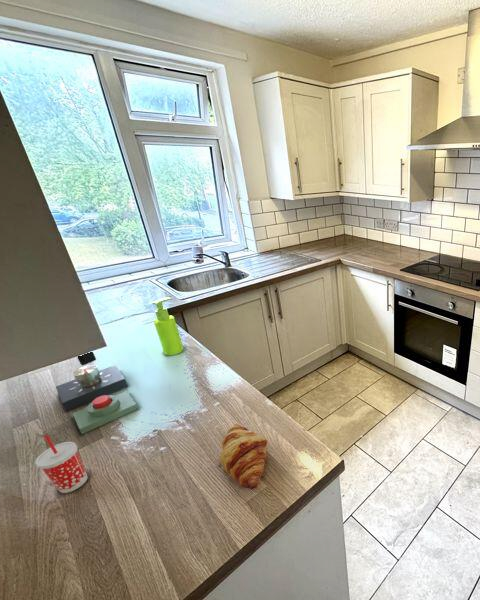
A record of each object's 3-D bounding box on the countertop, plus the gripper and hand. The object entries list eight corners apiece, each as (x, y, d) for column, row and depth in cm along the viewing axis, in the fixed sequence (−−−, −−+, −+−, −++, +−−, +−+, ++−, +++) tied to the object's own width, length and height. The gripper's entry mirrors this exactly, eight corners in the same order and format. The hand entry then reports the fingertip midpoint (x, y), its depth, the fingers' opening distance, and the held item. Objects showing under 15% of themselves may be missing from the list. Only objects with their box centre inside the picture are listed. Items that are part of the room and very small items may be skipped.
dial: (77, 382, 98) (71, 369, 96) (100, 374, 101) (94, 361, 99) (80, 390, 95) (74, 376, 93) (103, 381, 98) (97, 368, 96)
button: (96, 411, 87) (93, 406, 86) (93, 405, 89) (90, 400, 88) (113, 403, 89) (110, 398, 89) (109, 398, 92) (107, 393, 91)
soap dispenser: (189, 347, 121) (175, 298, 113) (171, 356, 116) (154, 305, 107) (179, 343, 124) (164, 295, 115) (160, 353, 118) (143, 302, 110)
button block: (81, 434, 84) (76, 424, 82) (74, 417, 89) (69, 407, 87) (138, 408, 92) (134, 398, 91) (128, 395, 97) (124, 385, 96)
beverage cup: (66, 473, 73) (38, 426, 68) (98, 468, 75) (73, 421, 69) (46, 499, 68) (14, 450, 62) (81, 493, 69) (53, 444, 63)
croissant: (226, 446, 85) (203, 432, 80) (259, 417, 88) (239, 402, 83) (246, 511, 69) (219, 498, 64) (285, 473, 72) (262, 458, 67)
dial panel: (66, 411, 91) (61, 402, 90) (59, 394, 97) (55, 385, 96) (128, 386, 101) (124, 378, 100) (118, 372, 107) (114, 364, 106)
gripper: (87, 303, 84) (111, 359, 91) (60, 291, 92) (84, 343, 99) (48, 315, 78) (77, 374, 85) (22, 301, 86) (51, 355, 93)
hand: (81, 357), depth 92 cm, fingers open, 9 cm apart
